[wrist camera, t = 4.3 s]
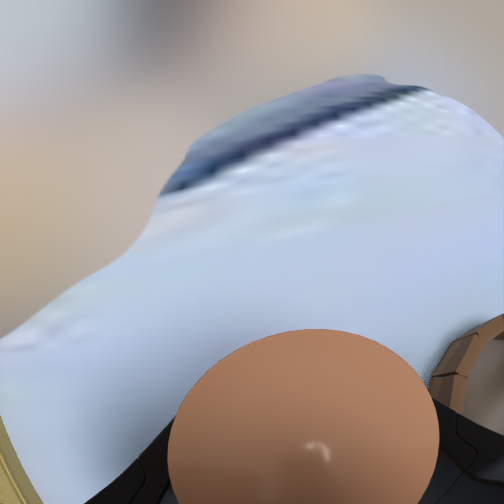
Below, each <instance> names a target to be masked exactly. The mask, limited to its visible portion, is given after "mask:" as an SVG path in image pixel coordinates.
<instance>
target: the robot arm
mask: <svg viewBox="0 0 504 504" xmlns="http://www.w3.org/2000/svg"><path fill="white" fill-rule="evenodd" d="M431 398H432V401H433V403H434V406H435V409H436V414H437V419H438V424H439V448H438V456H437V460H436V465H435V469H434V472H433V474H432V477H431V480H430V482H429V485H428V486H427V488H426V490H425V492H424V494H423V496H422V497H421V499H420V501H419V502H418V503H417V504H504V435H502V434H499V433H497V432H495V431H492V430H490V429H488V428H486V427H484V426H481V425H479V424H477V423H475V422H474V421H472V420H470V419H468V418H466V417H465V416H463V415H461V414H460V413H456V411H454V410H453V409H451V408H449V407H448V406H446V405H445V404H443V403H441V402H440V401H438V400H436V399H435V398H433V397H431ZM175 417H176V416H175ZM175 417H174V418H173V419H172V420H171V422H170V423H169V424H168V425H167V426H166V427H165V428H164V429H163V430H162V432H161V433H160V434H159V435H158V436H157V437H156V438H155V439H154V440H153V441H152V443H151V444H150V445H149V446H148V447H147V448H146V449H145V450H144V451H143V452H142V453H141V454H140V455H139V457H138V459H136V460H135V461H134V462H133V463H132V464H131V465H130V466H129V467H128V468H127V469H126V470H125V471H124V472H123V473H122V474H121V475H120V476H118V477H117V478H116V479H115V480H114V481H113V482H111V483H110V484H109V485H108V486H107V487H105V488H104V489H103V490H101V491H100V492H99V493H97V494H96V495H95V496H94V497H92V498H91V499H90V500H88V501H87V502H86V503H84V504H179V502H178V500H177V498H176V496H175V493H174V491H173V488H172V484H171V480H170V477H169V470H168V460H167V459H168V443H169V438H170V433H171V428H172V425H173V423H174V420H175Z"/></svg>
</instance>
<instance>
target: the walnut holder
mask: <svg viewBox="0 0 504 504" xmlns="http://www.w3.org/2000/svg"><path fill="white" fill-rule="evenodd" d="M432 377H433V379H430V385H429V391H428V392H429V393H430V395H431V397H433V398H435V399H436V400H438V401H440V402H441V403H443V404H445V405H446V406H448V407H449V408H451V409H453V410H454V411H456V413H460V414H461V415H463V416H465V417H466V418H468V419H470V420H472V421H474V422H475V423H477V424H479V425H481V426H484V427H486V428H488V429H490V430H492V431H495V432H497V433H499V434H502V435H504V314H501V315H499V316H497V317H495V318H493V319H491V320H489V321H487V322H485V323H483V324H481V325H479V326H477V327H476V328H474V329H472V330H471V331H469V332H468V333H466V334H465V335H463V336H461V337H460V338H458V339H456V340H455V341H453V343H451V344H450V346H449V348H448V350H447V351H446V353H445V355H444V356H443V358H442V360H441V362H440V363H439V365H438V366H437V368H436V370H435V371H434V373H433V374H432Z"/></svg>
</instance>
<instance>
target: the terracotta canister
mask: <svg viewBox="0 0 504 504" xmlns="http://www.w3.org/2000/svg"><path fill="white" fill-rule="evenodd" d="M438 448H439V424H438V419H437V414H436V409H435V406H434V403H433V401H432V398H431V395H430V393H429V392H428V390H427V388H426V386H425V384H424V382H423V381H422V380H421V378H420V377H419V376H418V374H417V373H416V372H415V370H414V369H413V368H412V367H411V366H410V365H409V364H408V363H407V362H406V361H405V360H404V359H403V358H401V357H400V356H398V355H397V354H396V353H394V352H393V351H392V350H390V349H389V348H387V347H385V346H383V345H381V344H379V343H377V342H376V341H373V340H370V339H368V338H365V337H363V336H360V335H356V334H352V333H348V332H344V331H336V330H327V329H305V330H297V331H288V332H284V333H280V334H276V335H271V336H268V337H265V338H263V339H260V340H257V341H254V342H252V343H250V344H248V345H246V346H244V347H242V348H240V349H238V350H236V351H234V352H233V353H231V354H230V355H228V356H226V357H225V358H223V359H222V360H220V361H219V362H218V363H217V364H216V365H214V366H213V367H212V368H211V369H209V370H208V371H207V372H206V373H205V374H204V375H203V376H202V377H201V378H200V380H199V381H198V382H197V383H196V384H195V385H194V386H193V388H192V389H191V390H190V392H189V393H188V395H187V396H186V397H185V399H184V401H183V403H182V405H181V406H180V408H179V410H178V412H177V414H176V417H175V420H174V423H173V425H172V428H171V433H170V438H169V443H168V459H167V460H168V470H169V477H170V480H171V484H172V488H173V491H174V493H175V496H176V498H177V500H178V502H179V504H417V503H418V502H419V501H420V499H421V497H422V496H423V494H424V492H425V490H426V488H427V486H428V485H429V482H430V480H431V477H432V474H433V472H434V469H435V465H436V460H437V456H438Z"/></svg>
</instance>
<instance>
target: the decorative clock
mask: <svg viewBox="0 0 504 504" xmlns="http://www.w3.org/2000/svg"><path fill="white" fill-rule="evenodd" d="M0 504H43V502H42V501H41V499H40V497H39V496H38V494H37V492H36V491H35V489H34V487H33V485H32V484H31V482H30V480H29V478H28V476H27V475H26V473H25V471H24V469H23V467H22V465H21V463H20V461H19V459H18V457H17V455H16V452H15V450H14V448H13V446H12V444H11V441H10V439H9V437H8V434H7V432H6V429H5V427H4V424H3V422H2V419H1V416H0Z"/></svg>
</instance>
